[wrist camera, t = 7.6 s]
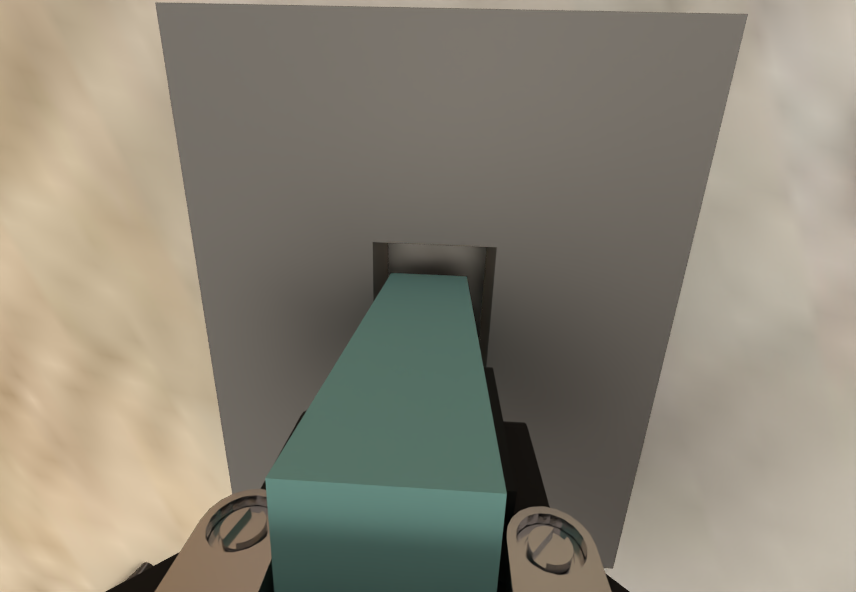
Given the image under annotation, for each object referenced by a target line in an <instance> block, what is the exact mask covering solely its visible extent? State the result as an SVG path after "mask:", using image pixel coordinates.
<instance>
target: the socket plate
mask: <svg viewBox="0 0 856 592" xmlns="http://www.w3.org/2000/svg"><path fill="white" fill-rule="evenodd" d="M155 4H156V10H157V16H158V23H159V29H160V36H161V42H162V48H163V55H164V61H165V67H166V74H167V80H168V87H169V93H170V99H171V106H172V112H173V118H174V125H175V131H176V138H177V144H178V150H179V157H180V163H181V169H182V176H183V182H184V189H185V195H186V201H187V208H188V214H189V220H190V227H191V233H192V240H193V246H194V252H195V259H196V265H197V271H198V278H199V284H200V291H201V297H202V303H203V310H204V316H205V323H206V329H207V335H208V342H209V348H210V354H211V361H212V367H213V374H214V380H215V386H216V393H217V399H218V405H219V412H220V418H221V425H222V431H223V437H224V444H225V450H226V456H227V463H228V469H229V476H230V482H231V488H232V494H234V493H238V492H241V491H244V490H250V489H261V487H262V485H263V483H264V481H265V478H266V476H267V475H268V473H269V471H270V470H271V468H272V467H273V465H274V463H275V461H276V459H277V458H278V456H279V454H280V452H281V450H282V449H283V447H284V445H285V443H286V441H287V439H288V438H289V436H290V434H291V432H292V430H293V429H294V427H295V425H296V423H297V421H298V419H299V418H300V416H301V414H302V413H303V412H304V411H306V410H307V409H308V408H309V406H310V405H311V403H312V401H313V400H314V398H315V396H316V395H317V393H318V392H319V390H320V388H321V387H322V385H323V383H324V382H325V380H326V378H327V377H328V375H329V374H330V372H331V370H332V369H333V367H334V365H335V364H336V362H337V361H338V359H339V357H340V356H341V354H342V352H343V351H344V349H345V348H346V346H347V344H348V343H349V341H350V339H351V338H352V336H353V334H354V333H355V331H356V330H357V328H358V326H359V325H360V323H361V321H362V320H363V318H364V317H365V315H366V313H367V312H368V310H369V308H370V307H371V305H372V303H373V302H374V300H375V299H376V297H377V295H378V294H379V292H380V290H381V289H382V287H383V286H384V284H385V282H386V281H387V279H388V243H407V244H430V245H454V246H477V247H487V249H486V261H485V274H484V287H483V299H482V312H481V325H480V337H479V346H480V351H481V357H482V362H483V367H492V368H493V370H494V376H495V381H496V386H497V391H498V396H499V401H500V407H501V412H502V417H503V421H506V422H524V423H526V424H527V427H528V430H529V434H530V437H531V441H532V445H533V448H534V452H535V456H536V459H537V463H538V466H539V470H540V474H541V477H542V481H543V485H544V488H545V492H546V495H547V499H548V503H549V506H550V508H554V509H557V510H559V511H562V512H564V513H566V514H568V515H570V516H571V517H573V518H574V519H576V520H577V521H578V522H580V523H581V524H582V525H583V527H584V528H585V529H586V530H587V531H588V532H589V533H590V535H591V537H592V539H593V541H594V543H595V545H596V547H597V550H598V553H599V556H600V559H601V562H602V565H603V568H613V566H614V562H615V558H616V554H617V549H618V545H619V541H620V537H621V533H622V529H623V525H624V521H625V517H626V513H627V508H628V504H629V500H630V496H631V492H632V488H633V484H634V480H635V476H636V471H637V467H638V463H639V459H640V455H641V451H642V447H643V443H644V439H645V435H646V430H647V426H648V422H649V418H650V414H651V410H652V406H653V402H654V398H655V393H656V389H657V385H658V381H659V377H660V373H661V369H662V365H663V361H664V356H665V352H666V348H667V344H668V340H669V336H670V332H671V328H672V324H673V320H674V315H675V311H676V307H677V303H678V299H679V295H680V291H681V287H682V283H683V278H684V274H685V270H686V266H687V262H688V258H689V254H690V250H691V246H692V242H693V237H694V233H695V229H696V225H697V221H698V217H699V213H700V209H701V205H702V200H703V196H704V192H705V188H706V184H707V180H708V176H709V172H710V168H711V163H712V159H713V155H714V151H715V147H716V143H717V139H718V135H719V131H720V127H721V122H722V118H723V114H724V110H725V106H726V102H727V98H728V94H729V90H730V85H731V81H732V77H733V73H734V69H735V65H736V61H737V57H738V53H739V48H740V44H741V40H742V36H743V32H744V28H745V24H746V20H747V16H748V14H717V13H666V12H615V11H564V10H513V9H461V8H410V7H359V6H308V5H257V4H205V3H155Z"/></svg>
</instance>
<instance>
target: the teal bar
mask: <svg viewBox="0 0 856 592" xmlns="http://www.w3.org/2000/svg"><path fill="white" fill-rule="evenodd" d="M265 481H266V494H267V507H268V519H269V532H270V545H271V557H272V570H273V583H274V592H497V584H498V574H499V565H500V555H501V545H502V536H503V526H504V516H505V507H506V497H507V492H506V487H505V481H504V476H503V470H502V465H501V460H500V454H499V449H498V443H497V438H496V432H495V427H494V422H493V416H492V411H491V405H490V400H489V395H488V389H487V384H486V378H485V373H484V367H483V362H482V357H481V351H480V346H479V340H478V335H477V330H476V324H475V319H474V313H473V308H472V302H471V297H470V292H469V286H468V281H467V276H449V275H427V274H405V273H391V274H390V276H389V277H388V279H387V281H386V282H385V284H384V286H383V287H382V289H381V290H380V292H379V294H378V295H377V297H376V299H375V300H374V302H373V303H372V305H371V307H370V308H369V310H368V312H367V313H366V315H365V317H364V318H363V320H362V321H361V323H360V325H359V326H358V328H357V330H356V331H355V333H354V334H353V336H352V338H351V339H350V341H349V343H348V344H347V346H346V348H345V349H344V351H343V352H342V354H341V356H340V357H339V359H338V361H337V362H336V364H335V365H334V367H333V369H332V370H331V372H330V374H329V375H328V377H327V378H326V380H325V382H324V383H323V385H322V387H321V388H320V390H319V392H318V393H317V395H316V396H315V398H314V400H313V401H312V403H311V405H310V406H309V408H308V409H307V411H306V413H305V414H304V416H303V418H302V419H301V421H300V423H299V424H298V426H297V427H296V429H295V431H294V432H293V434H292V436H291V437H290V439H289V440H288V442H287V444H286V445H285V447H284V449H283V450H282V452H281V453H280V455H279V457H278V458H277V460H276V462H275V463H274V465H273V467H272V468H271V470H270V471H269V473H268V475H267V476H266V478H265Z"/></svg>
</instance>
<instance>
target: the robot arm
mask: <svg viewBox="0 0 856 592" xmlns="http://www.w3.org/2000/svg"><path fill="white" fill-rule="evenodd" d="M484 373H485V378H486V384H487V389H488V395H489V400H490V405H491V411H492V416H493V422H494V427H495V432H496V438H497V443H498V449H499V454H500V460H501V465H502V470H503V476H504V481H505V487H506V492H507V497H506V507H505V516H504V526H503V536H502V545H501V555H500V565H499V574H498V584H497V592H629V591H628V590H627V589H625V588H624V587H623V586H621V585H620V584H619V583H617V582H616V581H615V580H613V579H612V578H611V577H609V576H608V575H607V574H605V571H604V568H603V565H602V562H601V559H600V556H599V553H598V550H597V547H596V545H595V543H594V541H593V539H592V537H591V535H590V533H589V532H588V531H587V530H586V529H585V528H584V527H583V525H582V524H581V523H580V522H578V521H577V520H576V519H574V518H573V517H571V516H570V515H568V514H566V513H564V512H562V511H559V510H557V509H554V508H550V506H549V503H548V499H547V495H546V492H545V488H544V485H543V481H542V477H541V474H540V470H539V466H538V463H537V459H536V456H535V452H534V448H533V445H532V441H531V437H530V434H529V430H528V427H527V424H526V423H524V422H506V421H503V417H502V412H501V407H500V401H499V396H498V391H497V386H496V381H495V376H494V370H493V368H492V367H484ZM306 411H307V410H306ZM306 411H304V412H303V413H302V414H301V416H300V418H299V419H298V421H297V423H296V425H295V427H294V429H293V430H292V432H291V434H290V436H289V438H288V439H287V441H286V443H285V445H286V444H287V442H288V440H289V439H290V437H291V436H292V434H293V432H294V431H295V429H296V427H297V426H298V424H299V423H300V421H301V419H302V418H303V416H304V414H305V413H306ZM285 445H284V447H285ZM284 447H283V449H284ZM283 449H282V450H283ZM282 450H281V452H282ZM281 452H280V453H281ZM279 455H280V454H279ZM278 457H279V456H278ZM276 460H277V459H276ZM275 462H276V461H275ZM106 592H274V583H273V570H272V557H271V545H270V532H269V519H268V507H267V494H266V481H264V483H263V485H262V487H261V489H250V490H244V491H241V492H238V493H234V494H232V495H230V496H228V497H226V498H224V499H222V500H220V501H219V502H218V503H216V504H215V505H214V506H213V507H211V508H210V509H209V510H208V511H207V512H206V514H205V515H204V516H203V517H202V518H201V520H200V521H199V523H198V524H197V526H196V527H195V529H194V531H193V532H192V534H191V535H190V537H189V538H188V540H187V542H186V543H185V545H184V546H183V548H182V550H181V551H180V552H179V553H177V554H175V555H173V556H172V557H170V558H168V559H166V560H164V561H162V562H160V563H158V564H157V565H155V566H153V567H151V568H149V569H147V570H145V571H143V572H142V573H140V574H138V575H136V576H134V577H132V578H130V579H128V580H127V581H125V582H123V583H121V584H119V585H117V586H115V587H113V588H112V589H110V590H108V591H106Z"/></svg>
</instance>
